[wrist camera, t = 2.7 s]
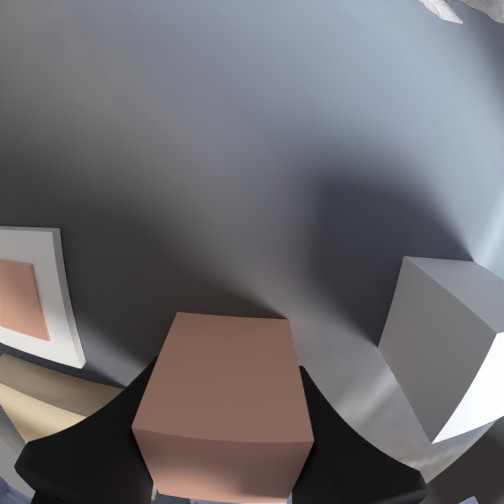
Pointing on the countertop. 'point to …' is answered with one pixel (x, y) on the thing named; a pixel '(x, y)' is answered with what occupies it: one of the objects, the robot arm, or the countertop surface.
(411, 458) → the countertop surface
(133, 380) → the robot arm
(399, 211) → the countertop surface
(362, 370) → the countertop surface
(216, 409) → the terracotta block
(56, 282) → the tile
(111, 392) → the oak base block
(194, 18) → the countertop surface
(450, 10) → the cloth
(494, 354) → the white block
